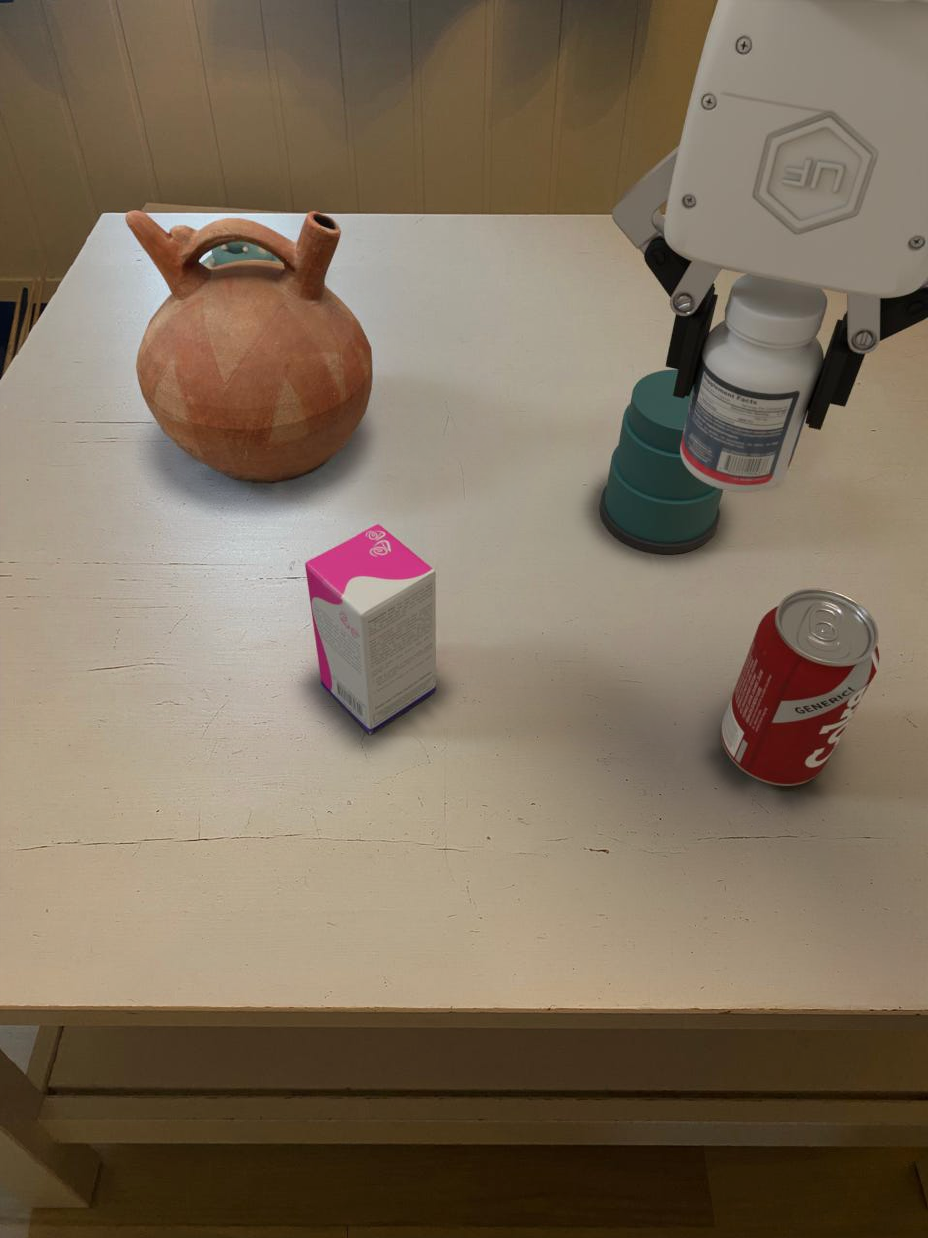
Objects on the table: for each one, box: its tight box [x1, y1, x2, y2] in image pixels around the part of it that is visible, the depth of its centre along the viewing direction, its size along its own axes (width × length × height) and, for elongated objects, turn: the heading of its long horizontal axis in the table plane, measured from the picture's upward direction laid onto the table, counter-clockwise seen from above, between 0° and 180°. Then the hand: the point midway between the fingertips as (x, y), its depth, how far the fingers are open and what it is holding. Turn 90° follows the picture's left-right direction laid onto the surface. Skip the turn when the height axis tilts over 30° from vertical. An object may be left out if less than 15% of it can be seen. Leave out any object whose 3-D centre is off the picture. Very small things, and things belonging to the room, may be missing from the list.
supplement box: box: [304, 523, 437, 735], centre depth 59 cm, size 6×6×12 cm
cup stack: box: [599, 369, 724, 555], centre depth 72 cm, size 9×9×11 cm
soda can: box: [720, 588, 880, 787], centre depth 56 cm, size 7×7×12 cm
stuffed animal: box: [200, 242, 282, 269], centre depth 95 cm, size 11×7×12 cm
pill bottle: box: [680, 274, 828, 493], centre depth 43 cm, size 5×5×9 cm
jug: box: [124, 209, 374, 484], centre depth 73 cm, size 18×18×20 cm
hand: (751, 393), depth 43 cm, fingers closed on pill bottle, 5 cm apart
